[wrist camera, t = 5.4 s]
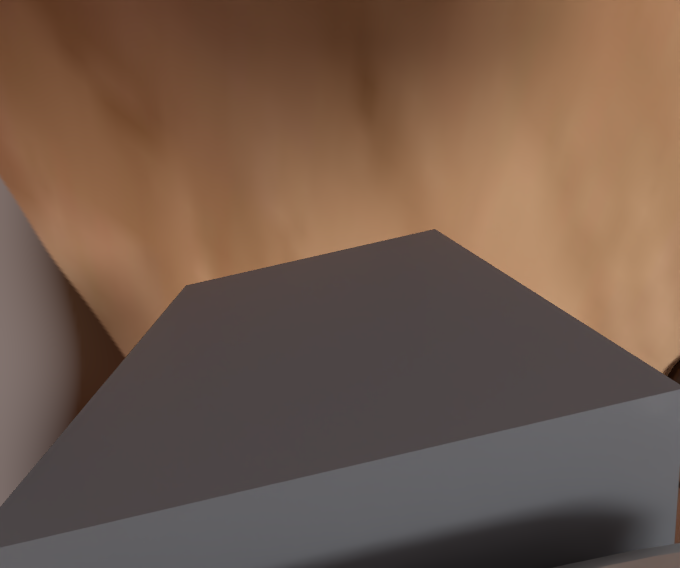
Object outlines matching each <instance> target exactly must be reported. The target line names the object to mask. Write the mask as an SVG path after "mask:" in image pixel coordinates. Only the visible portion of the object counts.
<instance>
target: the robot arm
mask: <svg viewBox="0 0 680 568" xmlns="http://www.w3.org/2000/svg"><path fill="white" fill-rule="evenodd" d="M553 568H680V471H679V485H678V499H677V513H676V527H675V542H674V544H670V545H664V546H657V547H651V548H645V549H639V550H633V551H628V552H623V553H619V554H614V555H609V556H605V557H600V558H595V559H590V560H586V561H581V562H576V563H571V564H567V565H562V566H557V567H553Z"/></svg>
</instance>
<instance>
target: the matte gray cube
mask: <svg viewBox="0 0 680 568" xmlns="http://www.w3.org/2000/svg"><path fill="white" fill-rule="evenodd" d="M679 471H680V384H678V383H677V382H675V381H673V380H672V379H670V378H669V377H667V376H666V375H664V374H662V373H661V372H659V371H658V370H656V369H655V368H653V367H651V366H650V365H648V364H647V363H645V362H643V361H642V360H640V359H639V358H637V357H636V356H634V355H632V354H631V353H629V352H628V351H626V350H625V349H623V348H621V347H620V346H618V345H617V344H615V343H614V342H612V341H610V340H609V339H607V338H606V337H604V336H603V335H601V334H599V333H598V332H596V331H595V330H593V329H591V328H590V327H588V326H587V325H585V324H584V323H582V322H580V321H579V320H577V319H576V318H574V317H573V316H571V315H569V314H568V313H566V312H565V311H563V310H562V309H560V308H558V307H557V306H555V305H554V304H552V303H550V302H549V301H547V300H546V299H544V298H543V297H541V296H539V295H538V294H536V293H535V292H533V291H532V290H530V289H528V288H527V287H525V286H524V285H522V284H521V283H519V282H517V281H516V280H514V279H513V278H511V277H510V276H508V275H506V274H505V273H503V272H502V271H500V270H498V269H497V268H495V267H494V266H492V265H491V264H489V263H487V262H486V261H484V260H483V259H481V258H480V257H478V256H476V255H475V254H473V253H472V252H470V251H469V250H467V249H465V248H464V247H462V246H461V245H459V244H458V243H456V242H454V241H453V240H451V239H450V238H448V237H446V236H445V235H443V234H442V233H440V232H439V231H437V230H435V229H433V230H429V231H425V232H420V233H416V234H411V235H407V236H403V237H398V238H394V239H389V240H385V241H380V242H376V243H372V244H367V245H363V246H358V247H354V248H350V249H345V250H341V251H336V252H332V253H328V254H323V255H319V256H314V257H310V258H305V259H301V260H297V261H292V262H288V263H283V264H279V265H275V266H270V267H266V268H261V269H257V270H253V271H248V272H244V273H239V274H235V275H230V276H226V277H222V278H217V279H213V280H208V281H204V282H200V283H195V284H191V285H186V286H185V287H184V288H183V290H182V291H181V292H180V293H179V294H178V296H177V297H176V298H175V299H174V300H173V302H172V303H171V304H170V305H169V306H168V308H167V309H166V310H165V311H164V312H163V314H162V315H161V316H160V317H159V318H158V319H157V321H156V322H155V323H154V324H153V325H152V327H151V328H150V329H149V330H148V331H147V333H146V334H145V335H144V336H143V337H142V339H141V340H140V341H139V342H138V343H137V345H136V346H135V347H134V348H133V349H132V351H131V352H130V353H129V354H128V355H127V356H126V358H125V359H124V360H123V361H122V363H121V364H120V365H119V366H118V367H117V368H116V370H115V371H114V372H113V373H112V375H111V376H110V377H109V378H108V379H107V380H106V382H105V383H104V384H103V385H102V386H101V387H100V389H99V390H98V391H97V392H96V393H95V395H94V396H93V397H92V398H91V399H90V401H89V402H88V403H87V404H86V405H85V407H84V408H83V409H82V410H81V411H80V413H79V414H78V415H77V416H76V417H75V418H74V420H73V421H72V422H71V423H70V424H69V426H68V427H67V428H66V429H65V430H64V432H63V433H62V434H61V435H60V436H59V438H58V439H57V440H56V441H55V442H54V444H53V445H52V446H51V447H50V448H49V450H48V451H47V452H46V453H45V454H44V455H43V457H42V458H41V459H40V460H39V461H38V463H37V464H36V465H35V466H34V467H33V469H32V470H31V471H30V472H29V473H28V475H27V476H26V477H25V478H24V479H23V481H22V482H21V483H20V484H19V485H18V487H17V488H16V489H15V490H14V491H13V492H12V494H11V495H10V496H9V498H7V500H6V501H5V502H4V503H3V504H2V506H1V507H0V568H553V567H557V566H562V565H567V564H571V563H576V562H581V561H586V560H590V559H595V558H600V557H605V556H609V555H614V554H619V553H623V552H628V551H633V550H639V549H645V548H651V547H657V546H664V545H670V544H674V542H675V527H676V513H677V499H678V485H679Z"/></svg>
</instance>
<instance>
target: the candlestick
mask: <svg viewBox="0 0 680 568" xmlns="http://www.w3.org/2000/svg"><path fill="white" fill-rule="evenodd" d="M668 377H669V378H670V379H672V380H673V381H675V382H677V383H678V384H680V361H679V362H678V363H677V364H676V365H675V366H674V368H673V369H672V371H671V372H670V374H669V375H668Z"/></svg>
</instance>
